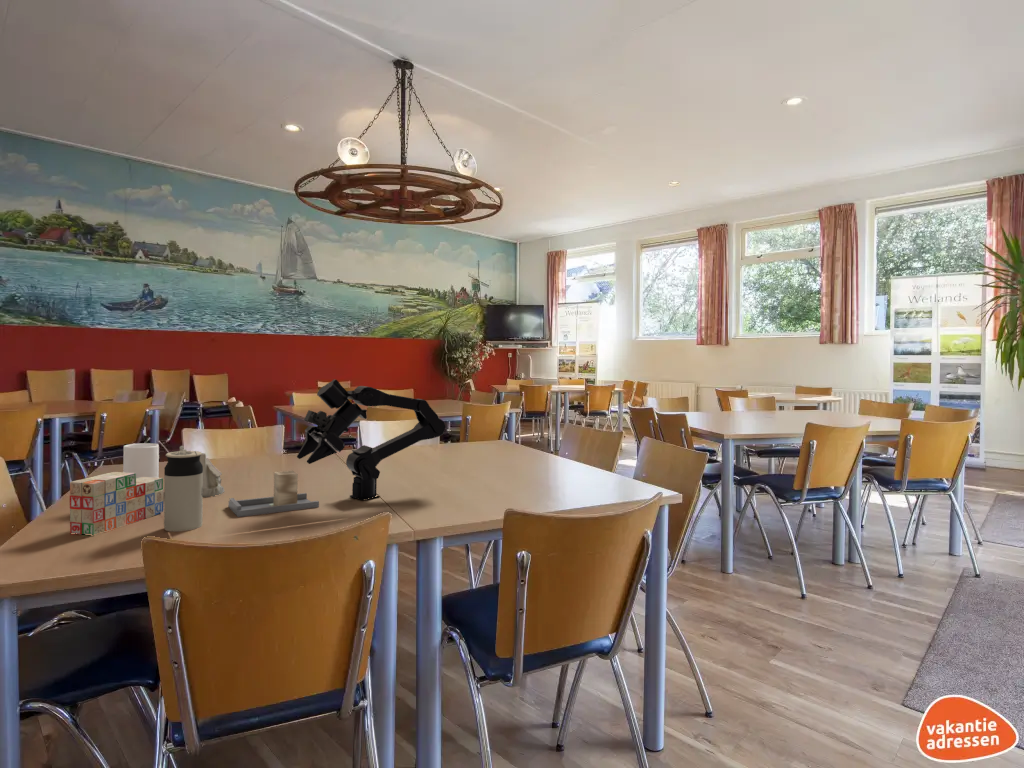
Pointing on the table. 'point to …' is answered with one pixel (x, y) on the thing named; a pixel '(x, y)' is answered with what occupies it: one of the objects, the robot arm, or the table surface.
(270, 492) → the table surface
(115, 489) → the stack of blocks
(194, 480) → the travel mug
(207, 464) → the ceramic cottage
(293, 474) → the maple block
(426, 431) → the robot arm
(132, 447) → the cup
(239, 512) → the tray
